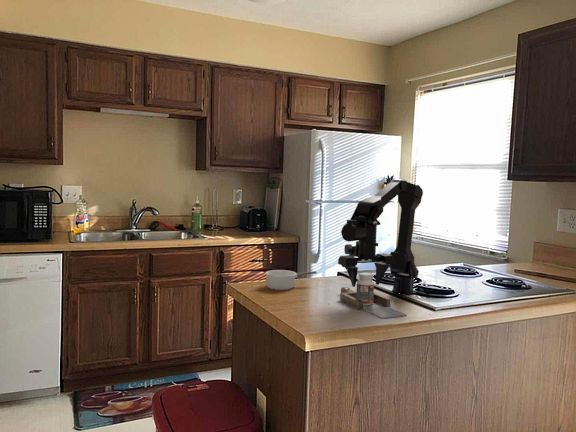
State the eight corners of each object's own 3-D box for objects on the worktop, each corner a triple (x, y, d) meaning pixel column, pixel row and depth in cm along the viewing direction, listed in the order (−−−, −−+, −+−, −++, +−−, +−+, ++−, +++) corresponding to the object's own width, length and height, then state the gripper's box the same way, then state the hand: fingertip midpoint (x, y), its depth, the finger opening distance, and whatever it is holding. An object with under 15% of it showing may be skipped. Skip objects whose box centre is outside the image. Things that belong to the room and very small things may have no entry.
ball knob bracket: (357, 291, 175) (357, 285, 175) (390, 306, 157) (390, 298, 157) (328, 294, 171) (328, 287, 170) (358, 309, 152) (359, 302, 152)
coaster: (389, 308, 155) (389, 306, 155) (406, 315, 147) (406, 314, 147) (365, 310, 152) (365, 309, 151) (382, 318, 143) (382, 317, 143)
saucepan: (321, 289, 179) (322, 274, 178) (270, 292, 172) (270, 276, 172) (310, 282, 190) (310, 268, 189) (261, 284, 183) (261, 270, 183)
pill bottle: (373, 306, 157) (374, 276, 156) (355, 304, 158) (356, 275, 157) (373, 301, 162) (374, 272, 162) (356, 300, 164) (357, 271, 163)
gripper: (377, 235, 169) (375, 278, 171) (330, 236, 162) (329, 282, 163) (396, 239, 159) (394, 285, 161) (347, 241, 152) (346, 289, 153)
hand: (365, 285), depth 160 cm, fingers open, 9 cm apart
